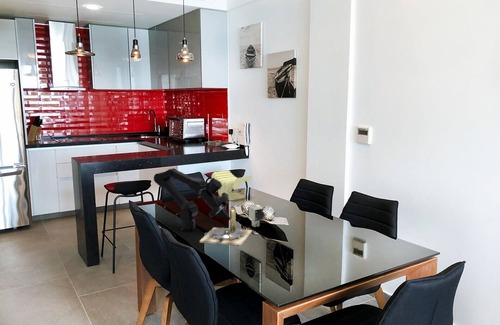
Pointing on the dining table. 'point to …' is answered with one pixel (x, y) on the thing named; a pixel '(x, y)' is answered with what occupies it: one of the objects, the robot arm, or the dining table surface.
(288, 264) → the dining table surface
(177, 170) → the robot arm
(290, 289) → the dining table surface
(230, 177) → the slatted curved stool
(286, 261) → the dining table surface
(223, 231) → the sprocket
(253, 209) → the pneumatic valve
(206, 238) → the sprocket base
